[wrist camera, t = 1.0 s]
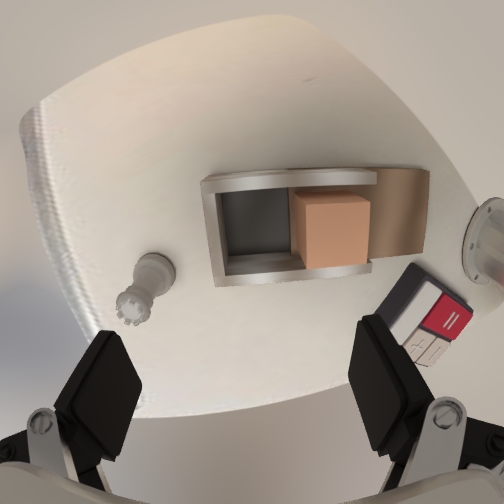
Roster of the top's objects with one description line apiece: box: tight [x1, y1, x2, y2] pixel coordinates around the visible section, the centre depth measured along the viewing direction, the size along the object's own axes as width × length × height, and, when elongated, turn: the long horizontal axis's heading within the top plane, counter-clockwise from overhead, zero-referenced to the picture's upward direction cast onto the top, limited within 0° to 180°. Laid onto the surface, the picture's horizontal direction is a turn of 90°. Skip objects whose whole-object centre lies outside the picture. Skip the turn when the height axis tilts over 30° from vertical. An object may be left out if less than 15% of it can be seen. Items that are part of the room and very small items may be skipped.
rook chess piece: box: [116, 254, 175, 326], centre depth 24 cm, size 4×4×8 cm
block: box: [294, 190, 370, 269], centre depth 22 cm, size 5×5×5 cm
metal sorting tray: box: [200, 167, 430, 287], centre depth 23 cm, size 22×9×4 cm, turn 95°
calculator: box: [374, 263, 473, 367], centre depth 29 cm, size 11×4×15 cm
